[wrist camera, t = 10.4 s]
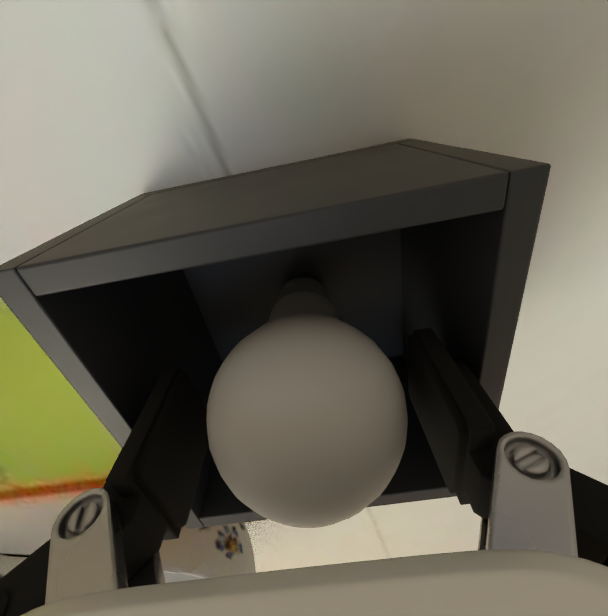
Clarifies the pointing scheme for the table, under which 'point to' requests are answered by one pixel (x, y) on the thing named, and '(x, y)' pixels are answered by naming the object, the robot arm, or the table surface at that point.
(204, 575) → the teacup
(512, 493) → the robot arm
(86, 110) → the table surface
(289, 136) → the table surface
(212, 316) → the bin
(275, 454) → the lightbulb
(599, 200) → the table surface
